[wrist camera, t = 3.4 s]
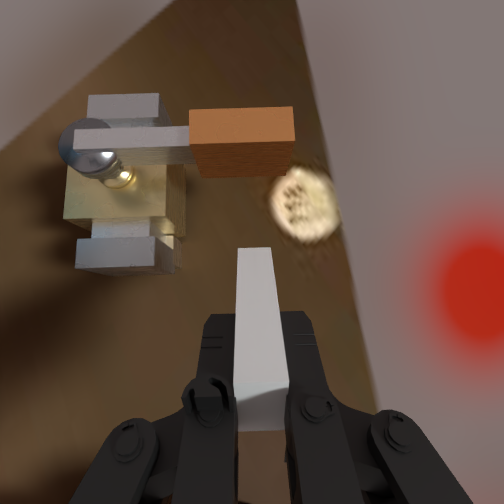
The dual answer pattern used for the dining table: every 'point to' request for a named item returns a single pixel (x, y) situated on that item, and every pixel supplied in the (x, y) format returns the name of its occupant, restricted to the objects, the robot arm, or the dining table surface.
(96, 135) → the lever
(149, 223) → the valve body
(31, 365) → the dining table surface
